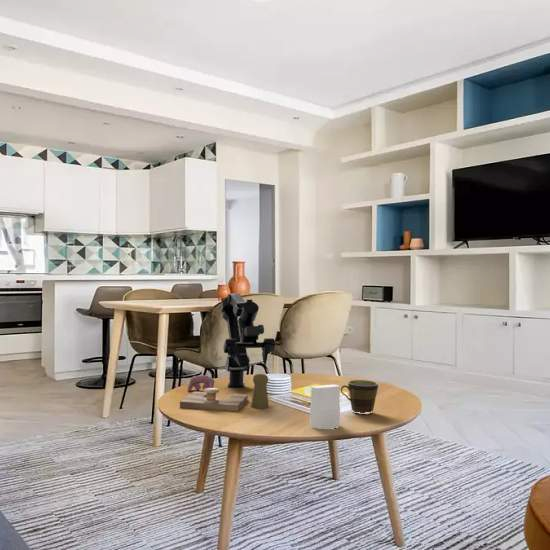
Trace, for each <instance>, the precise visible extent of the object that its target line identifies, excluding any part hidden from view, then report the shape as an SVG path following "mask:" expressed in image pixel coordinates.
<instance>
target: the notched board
mask: <svg viewBox="0 0 550 550" xmlns="http://www.w3.org/2000/svg"><path fill="white" fill-rule="evenodd" d="M219 389H220V388H216V387H213V388H206V389H203V391H193V392H192V393H190V394H189V395H188V396H186V397H184V398H183V399H181V400H180V401H179V408H181V407H183V408H184V409H195V408H198V409H197V410H210V409H214V410H213V411H225V410H226V411H229V412H238V411H240V410H241V409H242V408H243V406H244V405H245V404H246V403H247V402H248V400H249V395H248V394H243V393H242V394H239V393H232V394H231V395H230V396H229V397H228V398H219V397H217V393H219V392H220V390H219ZM183 408H182V409H183Z"/></svg>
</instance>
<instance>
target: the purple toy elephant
mask: <svg viewBox="0 0 550 550" xmlns="http://www.w3.org/2000/svg"><path fill="white" fill-rule="evenodd" d="M201 384H203V385H202V390H204V389H206V388H215V387H214V386H215V380H214V378H212V377H211V376H209V375H203V374H199V375H193V376H192V377H191V378H190V380H189V382H188V385H187V391H188V392H191V391H192V389H193V388H194V389H195V390H196V391H200V390H201ZM199 389H200V390H199ZM190 390H191V391H190Z"/></svg>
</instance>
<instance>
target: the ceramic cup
mask: <svg viewBox="0 0 550 550" xmlns="http://www.w3.org/2000/svg"><path fill="white" fill-rule="evenodd" d="M344 388H347V390H348V393H349V394H348V395H349V397H348V396H347V394H345V393H344V392H343V389H344ZM378 389H379V383H378V382H376V381H372V380H365V379H364V380H363V379H360V380H359V379H354V380H349V381H348V382H347V385H342V386H340V394H342V395H343V396H345V397H346V398H347V399H348V401H350V405H351V411H352V410H353V411H354V412H360V413H365V412H371V411H373V412H374V408H375V404H376V398H377V394H378Z"/></svg>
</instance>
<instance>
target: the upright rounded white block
mask: <svg viewBox="0 0 550 550" xmlns="http://www.w3.org/2000/svg"><path fill="white" fill-rule="evenodd" d="M310 388H311V389H310V391H311V392H310V406H309V408H310V409H309V426H310V427H311V428H313V429H316V428H317V430H321V429H331V428H336V427H339V428H340V425H341V424H340V422H341V421H340V420H341V419H340V418H341V407H340V400H341V399H340V394H341V386H340V385H338V384H336V383H335V384H325V385H311V387H310Z"/></svg>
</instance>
